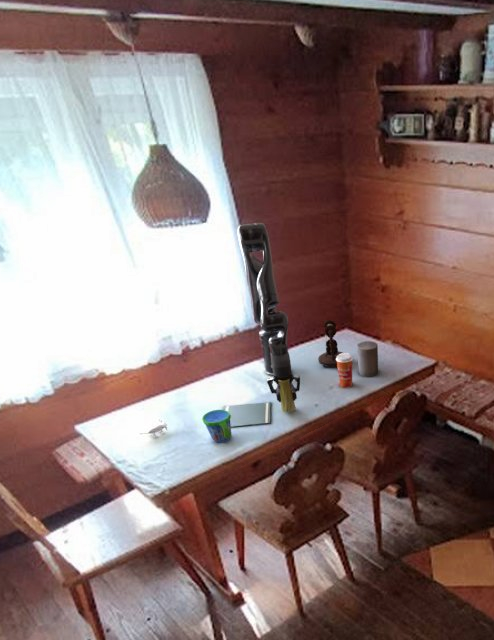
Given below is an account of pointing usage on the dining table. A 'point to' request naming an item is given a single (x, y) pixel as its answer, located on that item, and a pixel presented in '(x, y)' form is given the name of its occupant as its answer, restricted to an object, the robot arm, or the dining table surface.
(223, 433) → the snack cup
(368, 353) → the pillar candle
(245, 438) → the dining table surface
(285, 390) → the vase
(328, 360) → the dark brown sculpture
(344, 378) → the paper cup
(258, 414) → the green board
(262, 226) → the robot arm
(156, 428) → the grey animal figurine
